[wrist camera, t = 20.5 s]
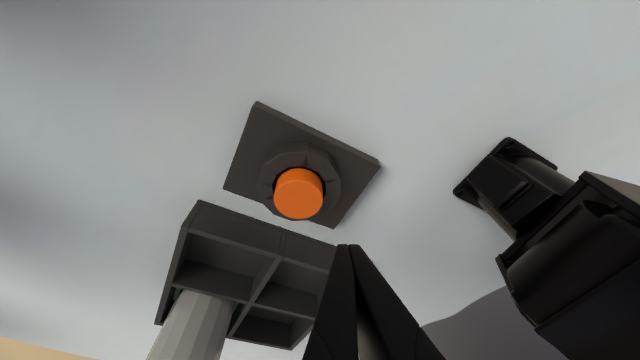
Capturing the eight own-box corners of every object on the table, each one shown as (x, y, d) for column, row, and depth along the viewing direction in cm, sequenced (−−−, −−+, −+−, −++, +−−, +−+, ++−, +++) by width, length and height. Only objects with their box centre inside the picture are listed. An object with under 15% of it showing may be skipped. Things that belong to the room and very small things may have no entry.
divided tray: (355, 253, 27) (361, 280, 24) (293, 324, 35) (291, 350, 32) (198, 199, 22) (181, 225, 19) (168, 295, 31) (153, 324, 28)
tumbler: (229, 273, 27) (174, 436, 16) (242, 303, 31) (205, 455, 20) (175, 276, 27) (84, 441, 16) (194, 306, 31) (130, 459, 20)
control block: (377, 159, 20) (386, 177, 18) (332, 220, 24) (335, 243, 22) (256, 100, 18) (246, 112, 15) (226, 180, 21) (215, 201, 19)
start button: (330, 178, 18) (331, 191, 17) (309, 210, 20) (309, 225, 19) (287, 160, 17) (285, 172, 16) (269, 195, 19) (266, 209, 18)
